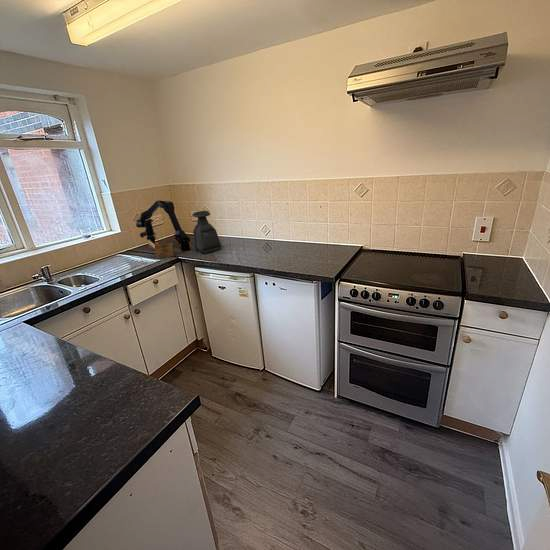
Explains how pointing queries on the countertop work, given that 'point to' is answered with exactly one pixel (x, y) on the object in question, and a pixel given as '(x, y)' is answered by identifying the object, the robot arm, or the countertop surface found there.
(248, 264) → the countertop surface
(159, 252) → the carton
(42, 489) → the countertop surface
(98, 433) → the countertop surface
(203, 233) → the bottle
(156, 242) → the packet
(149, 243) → the flap
